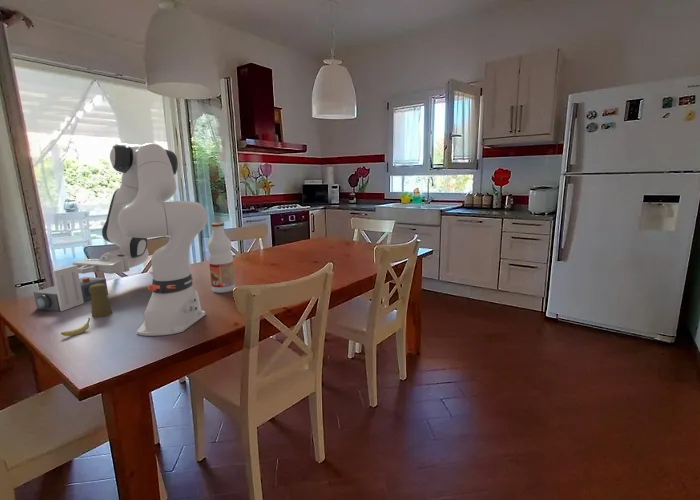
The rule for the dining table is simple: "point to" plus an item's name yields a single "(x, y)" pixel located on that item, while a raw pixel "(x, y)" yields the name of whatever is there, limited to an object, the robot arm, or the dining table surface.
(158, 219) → the robot arm
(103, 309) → the cork
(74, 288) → the cover
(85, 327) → the banana
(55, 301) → the camera block
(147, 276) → the dining table surface
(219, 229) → the fruit juice
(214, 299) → the dining table surface
